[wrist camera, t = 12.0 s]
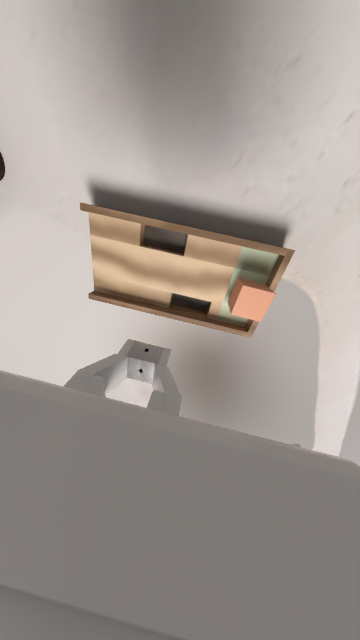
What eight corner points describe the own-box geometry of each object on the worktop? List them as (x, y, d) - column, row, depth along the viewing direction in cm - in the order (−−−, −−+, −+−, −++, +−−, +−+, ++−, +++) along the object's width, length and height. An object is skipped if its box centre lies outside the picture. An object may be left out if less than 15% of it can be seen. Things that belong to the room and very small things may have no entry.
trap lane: (97, 206, 29) (79, 202, 25) (282, 247, 28) (295, 250, 24) (101, 291, 37) (88, 298, 33) (246, 326, 35) (250, 337, 32)
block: (237, 277, 29) (243, 285, 24) (265, 284, 28) (276, 293, 24) (227, 302, 31) (230, 314, 27) (253, 309, 31) (260, 322, 27)
